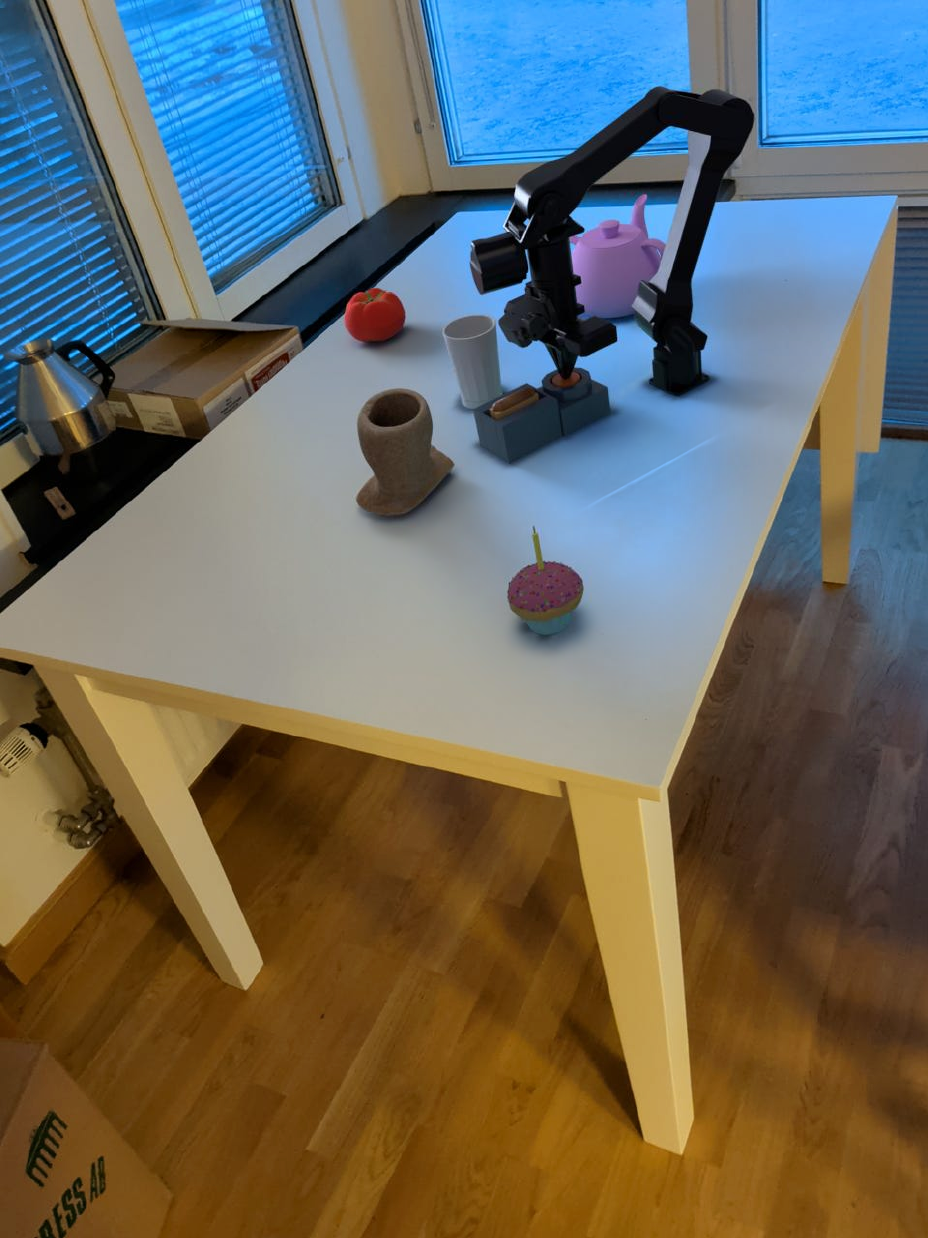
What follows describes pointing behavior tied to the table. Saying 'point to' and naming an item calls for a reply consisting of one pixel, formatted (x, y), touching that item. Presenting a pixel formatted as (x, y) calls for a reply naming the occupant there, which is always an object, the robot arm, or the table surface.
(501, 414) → the tan slab
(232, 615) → the table surface
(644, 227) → the teapot
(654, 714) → the table surface
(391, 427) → the stone cup
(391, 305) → the tomato
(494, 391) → the cup
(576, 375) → the button
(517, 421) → the toaster
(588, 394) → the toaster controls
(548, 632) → the cupcake
